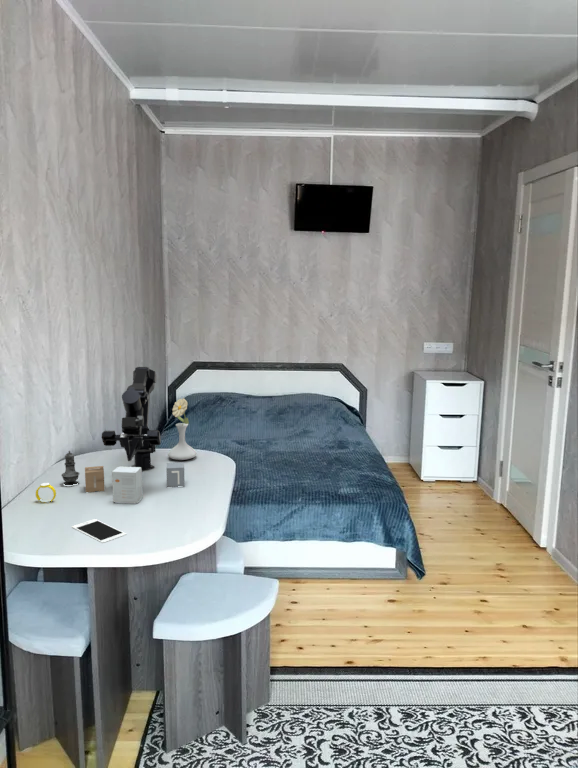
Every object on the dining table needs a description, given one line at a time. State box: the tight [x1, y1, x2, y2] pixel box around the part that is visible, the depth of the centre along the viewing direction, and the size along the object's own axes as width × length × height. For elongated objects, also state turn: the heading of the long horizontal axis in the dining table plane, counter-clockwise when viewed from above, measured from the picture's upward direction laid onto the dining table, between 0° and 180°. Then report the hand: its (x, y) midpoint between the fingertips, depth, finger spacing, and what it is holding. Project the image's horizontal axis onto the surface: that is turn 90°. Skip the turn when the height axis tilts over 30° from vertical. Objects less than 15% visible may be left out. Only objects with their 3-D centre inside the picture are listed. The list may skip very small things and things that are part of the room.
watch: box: [35, 482, 57, 502], centre depth 192 cm, size 6×3×6 cm, turn 92°
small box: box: [111, 466, 144, 505], centre depth 194 cm, size 8×6×10 cm
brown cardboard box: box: [84, 465, 105, 493], centre depth 204 cm, size 6×6×7 cm
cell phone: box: [71, 518, 127, 544], centre depth 171 cm, size 8×16×1 cm, turn 50°
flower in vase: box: [167, 397, 198, 461], centre depth 238 cm, size 13×11×25 cm
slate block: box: [165, 462, 186, 488], centre depth 210 cm, size 6×6×7 cm
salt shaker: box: [61, 450, 80, 485], centre depth 208 cm, size 6×6×12 cm
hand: (129, 460), depth 197 cm, fingers closed
